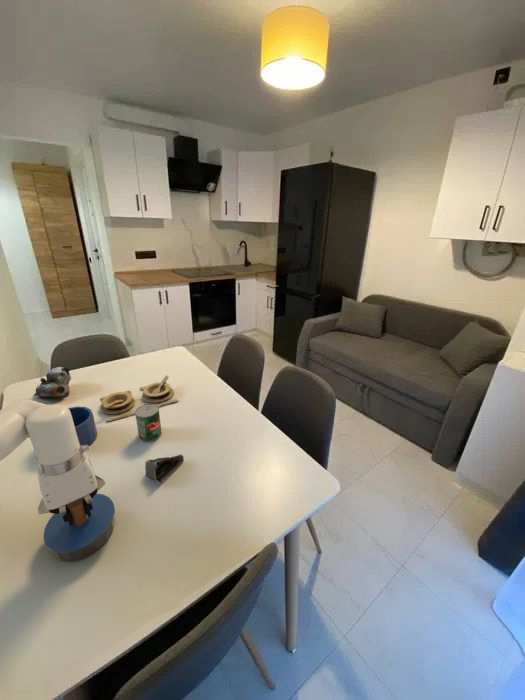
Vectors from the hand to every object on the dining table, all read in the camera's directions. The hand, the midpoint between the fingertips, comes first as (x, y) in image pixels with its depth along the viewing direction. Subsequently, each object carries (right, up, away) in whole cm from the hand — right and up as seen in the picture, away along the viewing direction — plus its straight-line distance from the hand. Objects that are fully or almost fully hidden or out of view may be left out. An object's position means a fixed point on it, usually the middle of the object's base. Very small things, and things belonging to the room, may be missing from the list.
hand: (79, 515), depth 70 cm
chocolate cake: (+13, +2, +22) cm, 26 cm away
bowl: (0, -6, +3) cm, 6 cm away
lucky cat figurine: (-47, +21, +58) cm, 77 cm away
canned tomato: (+3, +9, +37) cm, 38 cm away
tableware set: (-9, +18, +56) cm, 59 cm away
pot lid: (0, -2, +1) cm, 2 cm away
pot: (-22, +8, +32) cm, 40 cm away
